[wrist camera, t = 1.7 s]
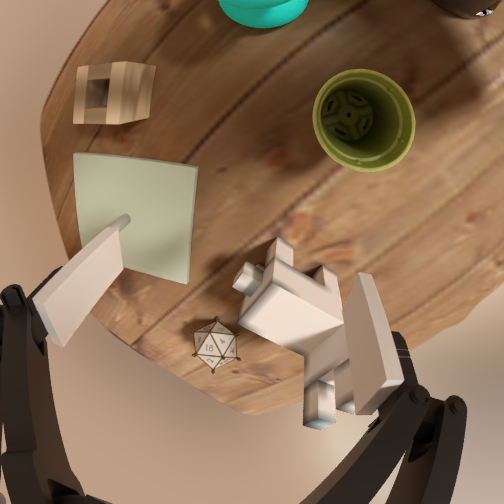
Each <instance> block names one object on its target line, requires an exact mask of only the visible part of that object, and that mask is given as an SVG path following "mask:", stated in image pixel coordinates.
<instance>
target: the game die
mask: <svg viewBox="0 0 504 504" xmlns="http://www.w3.org/2000/svg"><path fill="white" fill-rule="evenodd" d="M218 320H219V317H218V316H217V317H216V321H215V322H213V323H211V324H209V325H207V326H205V327H203V328H200V329H198V330H196V331H194V330H192V329H190V332H192V333H194V345H195V353H194V354H192V356H193V357H196V356H198V357H199V358H200V359H201V360H202V361H203V362H205V363H206V364H207V365H208V366H209V367H210V368H211V369H212V374H214V373H215V372H214V369H216V368H218V367H220V366H222V365H224V364H226V363H228V362H230V361H232V360H234V359H237V360H238V361H241V359H240V358H239V357H237V346H236V336H239V334H240V333H238V332H237V333H236V334H234V333H233V332H231V331H230V330H229V329H228V328H226V327H225V326H224V325H222V324H221V323H220V322H219V321H218Z"/></svg>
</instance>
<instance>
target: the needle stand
mask: <svg viewBox="0 0 504 504" xmlns="http://www.w3.org/2000/svg"><path fill="white" fill-rule="evenodd" d="M73 162H74V183H75V197H76V207H77V217H78V225H79V232H80V239H81V245H82V249H83V248H84V247H85V246H86V245H87V244H88V243H89V242H90V241H92V240H93V239H94V238H95V237H96V236H97V235H98V234H100V233H101V232H102V231H103V230H104V229H105V228H107V227H112V228H117V229H118V232H119V240H120V248H121V256H122V263H123V267H124V268H128V269H131V270H135V271H139V272H142V273H146V274H149V275H153V276H157V277H160V278H164V279H168V280H172V281H175V282H179V283H183V284H187V283H188V281H189V269H190V254H191V240H192V227H193V216H194V205H195V195H196V186H197V177H198V168H199V166H194V165H188V164H182V163H175V162H168V161H161V160H154V159H146V158H138V157H129V156H120V155H110V154H100V153H87V152H76V153H73Z"/></svg>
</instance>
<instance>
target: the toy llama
mask: <svg viewBox="0 0 504 504" xmlns="http://www.w3.org/2000/svg"><path fill="white" fill-rule="evenodd" d="M232 287H233V288H235V289H236V290H238V291H240V292H242V293H244V295H243V299H242V304H241V308H240V312H239V316H238V320H237V324H238V325H240V326H242V327H244V328H246V329H248V330H250V331H252V332H254V333H256V334H258V335H260V336H262V337H264V338H266V339H268V340H270V341H272V342H274V343H276V344H279V345H281V346H283V347H285V348H287V349H289V350H291V351H294V352H296V353H298V354H300V355H302V356H304V407H303V408H304V409H303V426H307V427H310V428H314V429H318V430H321V429H323V428H325V427H328V426H330V425H332V424H334V423H336V414H335V404H336V409H337V410H340V411H344V412H347V413H351V414H354V413H355V404H354V394H353V385H352V376H351V368H350V361H349V354H348V347H347V340H346V333H345V327H344V321H343V315H342V310H343V309H342V303H341V298H340V292H339V287H338V282H337V277H336V273H335V272H333V271H332V270H330V269H328V268H327V267H325V266H324V265H322V266H321V267H320V268H319V269H318V270H317V271H316V272H315V273H314V274H313V275H312V278H310V277H309V276H307V275H305V274H304V273H302V272H300V271H299V270H297V269H295V268H294V267H293V246H292V245H290V244H289V243H287V242H285V241H284V240H282V239H281V238H279V237H277V238H276V239H275V241H274V242H273V243H272V245H271V246H270V247H269V249H268V250H267V255H266V261H265V267H264V266H262V265H261V264H259V263H257V264H256V266H254V265H252V264H251V263H249V262H247V261H245V263H244V264H243V266H242V267H241V268H240V270H239V271H238V272H237V274H236V276H235V279H234V282H233V285H232Z"/></svg>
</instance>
